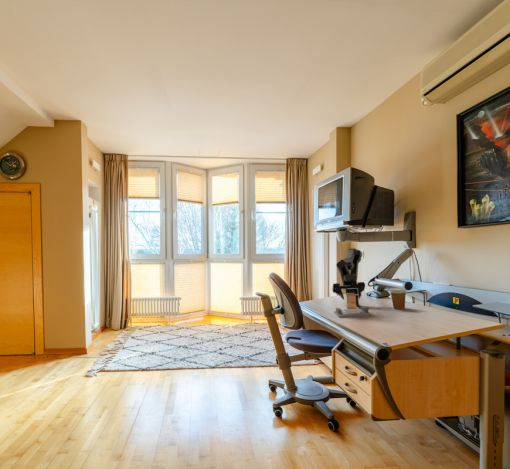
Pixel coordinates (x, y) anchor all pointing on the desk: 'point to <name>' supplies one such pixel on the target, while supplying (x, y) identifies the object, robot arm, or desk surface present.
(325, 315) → the desk surface
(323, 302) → the desk surface
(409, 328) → the desk surface
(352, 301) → the peg
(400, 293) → the disposable coffee cup
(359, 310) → the socket plate
